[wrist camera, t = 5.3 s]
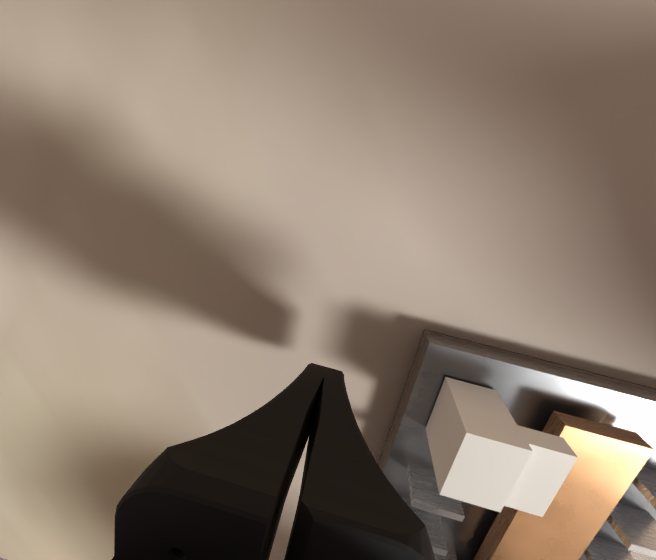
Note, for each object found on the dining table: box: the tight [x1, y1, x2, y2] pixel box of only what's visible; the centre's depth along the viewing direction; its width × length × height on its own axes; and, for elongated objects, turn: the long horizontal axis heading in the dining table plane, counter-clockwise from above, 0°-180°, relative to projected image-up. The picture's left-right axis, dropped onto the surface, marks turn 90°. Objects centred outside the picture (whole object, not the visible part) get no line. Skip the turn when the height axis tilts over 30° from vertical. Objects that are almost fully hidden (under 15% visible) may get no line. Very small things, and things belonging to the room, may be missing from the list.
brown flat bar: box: [474, 410, 654, 560], centre depth 13 cm, size 4×11×1 cm, turn 168°
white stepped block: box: [426, 377, 578, 517], centre depth 11 cm, size 4×3×3 cm
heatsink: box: [378, 330, 656, 560], centre depth 14 cm, size 11×13×3 cm
